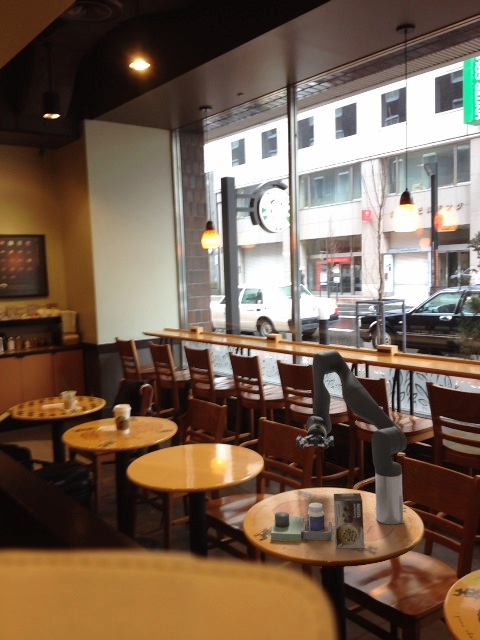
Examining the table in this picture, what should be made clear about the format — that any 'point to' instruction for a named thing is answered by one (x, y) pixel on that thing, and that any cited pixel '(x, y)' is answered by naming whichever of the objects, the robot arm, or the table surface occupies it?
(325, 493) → the table surface
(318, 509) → the pill bottle
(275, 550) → the table surface
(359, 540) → the coffee box
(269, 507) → the table surface
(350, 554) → the table surface
